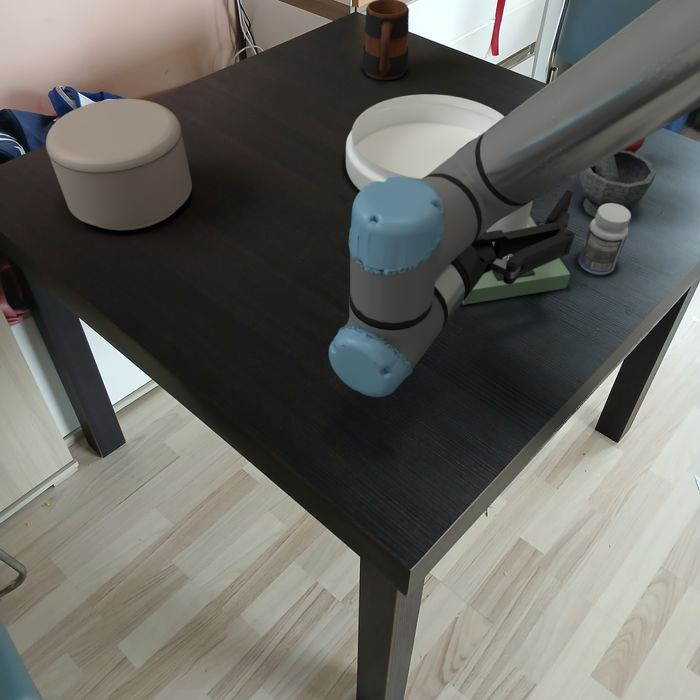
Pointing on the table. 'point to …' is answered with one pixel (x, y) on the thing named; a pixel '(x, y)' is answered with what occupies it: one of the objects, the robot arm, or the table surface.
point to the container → (120, 163)
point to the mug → (386, 39)
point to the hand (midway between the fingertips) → (514, 183)
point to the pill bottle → (605, 239)
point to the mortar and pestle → (616, 181)
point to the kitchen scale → (520, 281)
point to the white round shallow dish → (412, 136)
